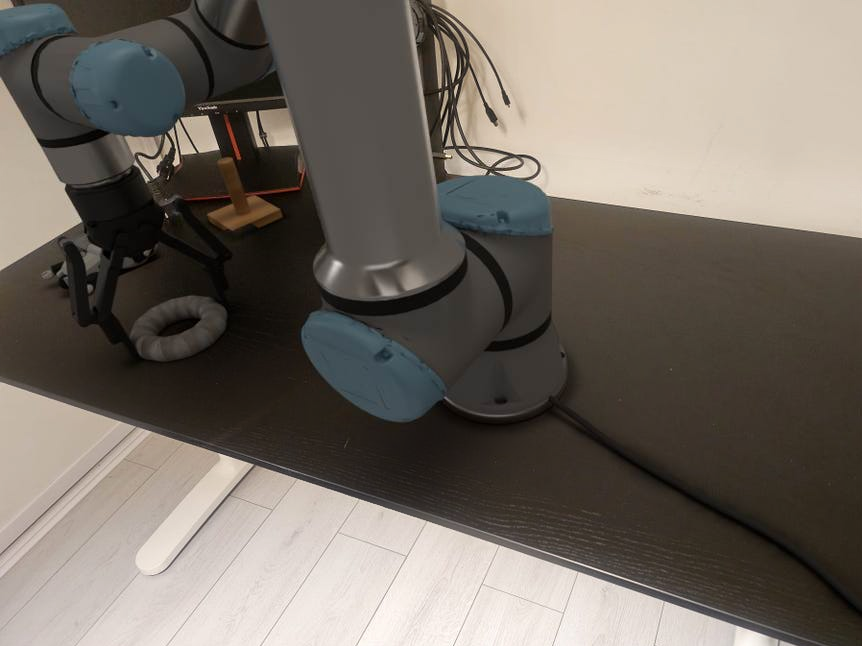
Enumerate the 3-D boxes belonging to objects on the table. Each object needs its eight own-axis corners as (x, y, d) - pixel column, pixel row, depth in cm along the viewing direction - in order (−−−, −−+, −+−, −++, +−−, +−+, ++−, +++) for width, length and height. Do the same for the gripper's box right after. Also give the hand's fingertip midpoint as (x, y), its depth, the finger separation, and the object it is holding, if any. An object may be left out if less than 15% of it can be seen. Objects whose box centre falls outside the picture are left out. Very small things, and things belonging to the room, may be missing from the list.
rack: (282, 217, 104) (264, 157, 97) (235, 238, 99) (211, 177, 93) (256, 202, 109) (236, 144, 102) (209, 222, 105) (186, 163, 98)
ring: (246, 332, 78) (238, 313, 76) (158, 379, 73) (147, 360, 71) (206, 299, 85) (197, 281, 83) (123, 340, 79) (112, 322, 77)
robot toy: (96, 311, 88) (177, 253, 97) (78, 286, 85) (163, 229, 93) (47, 291, 93) (128, 238, 102) (28, 267, 90) (113, 214, 98)
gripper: (191, 130, 73) (251, 282, 87) (-35, 207, 61) (77, 369, 75) (220, 143, 68) (278, 302, 83) (-17, 229, 57) (98, 397, 71)
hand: (183, 334), depth 79 cm, fingers closed on ring, 12 cm apart
